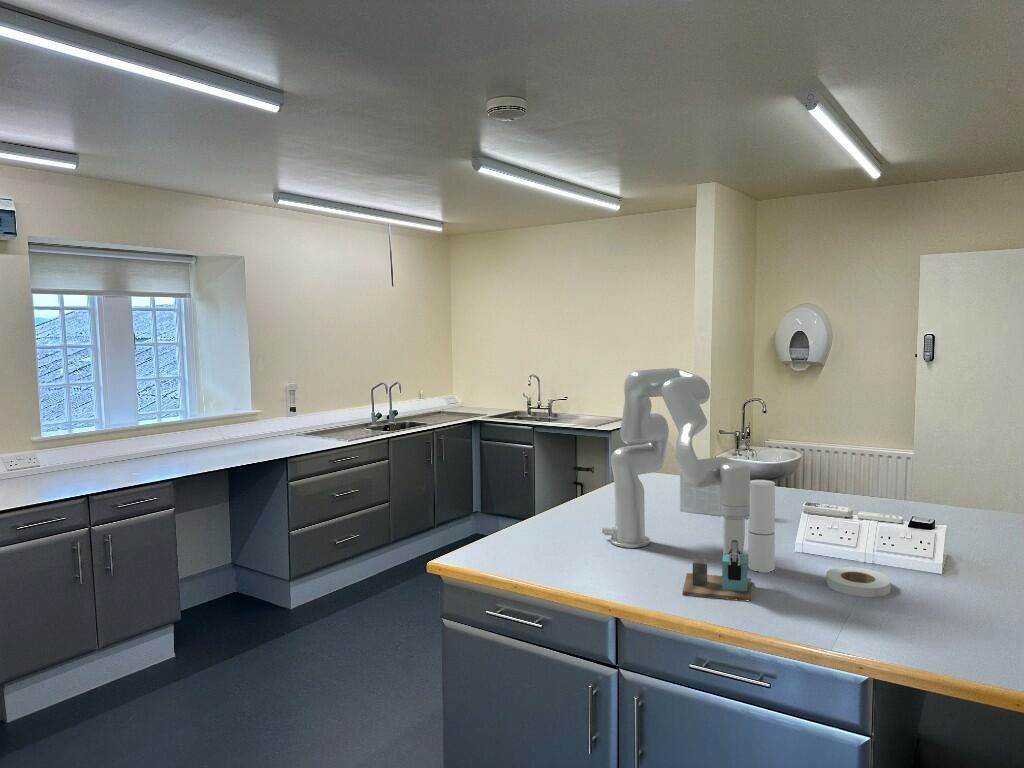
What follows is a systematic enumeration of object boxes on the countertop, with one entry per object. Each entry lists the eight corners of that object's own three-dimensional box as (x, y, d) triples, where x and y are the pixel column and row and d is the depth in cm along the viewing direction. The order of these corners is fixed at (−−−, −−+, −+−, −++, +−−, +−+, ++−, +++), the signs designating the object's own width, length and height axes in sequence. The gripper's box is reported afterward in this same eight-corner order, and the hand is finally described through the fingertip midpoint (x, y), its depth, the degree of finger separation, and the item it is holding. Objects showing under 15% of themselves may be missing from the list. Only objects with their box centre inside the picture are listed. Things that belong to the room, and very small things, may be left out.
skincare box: (739, 514, 256) (739, 472, 255) (735, 518, 252) (735, 475, 250) (684, 508, 267) (683, 467, 266) (679, 511, 263) (678, 470, 262)
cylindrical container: (774, 565, 202) (774, 480, 200) (774, 573, 196) (775, 486, 194) (748, 562, 205) (748, 479, 203) (748, 571, 198) (748, 484, 196)
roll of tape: (888, 602, 175) (888, 591, 174) (822, 591, 183) (822, 580, 182) (892, 582, 188) (892, 572, 187) (830, 573, 196) (830, 563, 195)
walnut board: (682, 595, 182) (682, 569, 181) (686, 576, 195) (686, 552, 195) (751, 601, 177) (751, 574, 176) (750, 581, 190) (750, 556, 189)
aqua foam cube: (722, 589, 182) (722, 561, 182) (723, 581, 188) (723, 553, 188) (747, 591, 180) (747, 563, 180) (747, 583, 186) (747, 555, 186)
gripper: (720, 500, 192) (720, 561, 194) (718, 518, 176) (718, 583, 177) (749, 502, 190) (749, 563, 191) (750, 519, 173) (749, 586, 175)
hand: (734, 573), depth 184 cm, fingers open, 9 cm apart
